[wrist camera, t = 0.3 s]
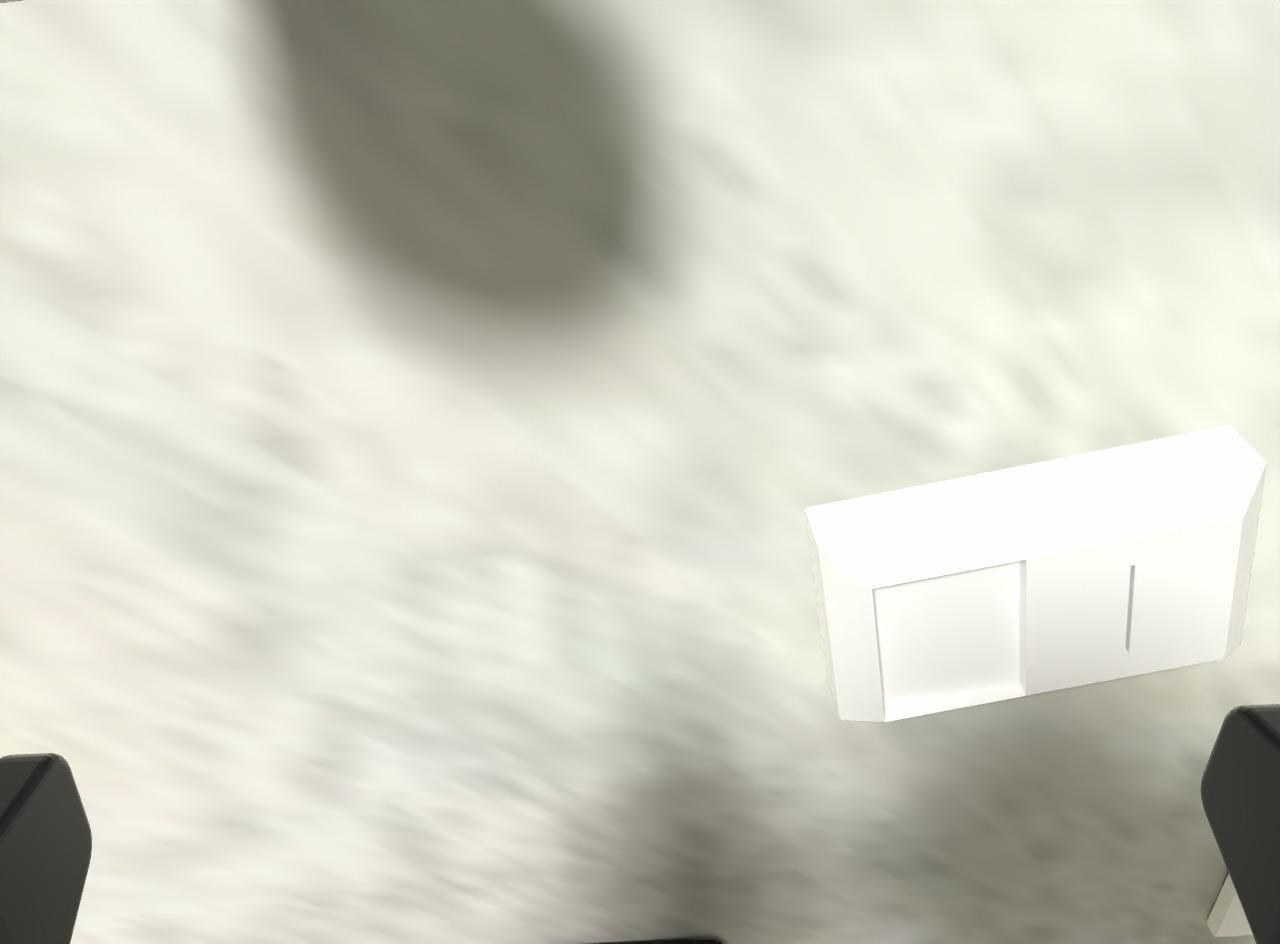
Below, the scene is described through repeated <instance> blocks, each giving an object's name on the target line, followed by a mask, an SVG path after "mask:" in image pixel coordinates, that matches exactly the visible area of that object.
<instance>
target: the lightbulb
mask: <svg viewBox="0 0 1280 944" xmlns="http://www.w3.org/2000/svg"><path fill="white" fill-rule="evenodd" d="M14 1H21V0H0V3H6V2H14Z"/></svg>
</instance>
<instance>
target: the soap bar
mask: <svg viewBox="0 0 1280 944" xmlns="http://www.w3.org/2000/svg"><path fill="white" fill-rule="evenodd" d="M1266 464H1267V461H1266V460H1265V459H1264V458H1263V457H1262V456H1261V455H1260V454H1259V453H1258V452H1257V451H1256V450H1255V449H1254V448H1253V447H1251V446H1250V445H1249V444H1248V443H1247V442H1246V441H1245V440H1244V439H1243V438H1242V437H1241V436H1240V435H1239V434H1238V433H1237V432H1236V431H1235V430H1234V429H1233V428H1232V427H1231V426H1230V425H1228V426H1223V427H1218V428H1213V429H1208V430H1203V431H1198V432H1192V433H1187V434H1182V435H1177V436H1172V437H1167V438H1162V439H1157V440H1152V441H1146V442H1141V443H1136V444H1131V445H1126V446H1121V447H1116V448H1111V449H1105V450H1100V451H1095V452H1090V453H1085V454H1080V455H1075V456H1070V457H1065V458H1059V459H1054V460H1049V461H1044V462H1039V463H1034V464H1029V465H1024V466H1019V467H1013V468H1008V469H1003V470H998V471H993V472H988V473H983V474H978V475H972V476H967V477H962V478H957V479H952V480H947V481H942V482H937V483H932V484H926V485H921V486H916V487H911V488H906V489H901V490H896V491H891V492H886V493H880V494H875V495H870V496H865V497H860V498H855V499H850V500H845V501H839V502H834V503H829V504H824V505H819V506H814V507H809V508H805V514H806V522H807V530H808V537H809V545H810V553H811V560H812V568H813V576H814V584H815V591H816V599H817V607H818V614H819V622H820V630H821V637H822V645H823V653H824V660H825V668H826V676H827V679H828V683H829V686H830V689H831V693H832V696H833V699H834V702H835V706H836V709H837V712H838V715H839V719H840V720H851V721H871V722H889V721H894V720H899V719H905V718H910V717H915V716H921V715H926V714H932V713H937V712H942V711H948V710H953V709H958V708H964V707H969V706H974V705H980V704H985V703H991V702H996V701H1001V700H1007V699H1012V698H1017V697H1023V696H1028V695H1033V694H1039V693H1044V692H1049V691H1055V690H1060V689H1066V688H1071V687H1076V686H1082V685H1087V684H1092V683H1098V682H1103V681H1108V680H1114V679H1119V678H1125V677H1130V676H1135V675H1141V674H1146V673H1151V672H1157V671H1162V670H1167V669H1173V668H1178V667H1184V666H1189V665H1194V664H1200V663H1205V662H1210V661H1216V660H1221V659H1225V658H1226V657H1227V656H1228V655H1230V654H1231V653H1232V652H1233V651H1234V650H1235V649H1236V648H1238V647H1239V646H1240V645H1241V638H1242V631H1243V624H1244V617H1245V610H1246V603H1247V596H1248V590H1249V583H1250V576H1251V569H1252V562H1253V555H1254V548H1255V541H1256V534H1257V527H1258V520H1259V513H1260V506H1261V499H1262V492H1263V485H1264V478H1265V471H1266Z"/></svg>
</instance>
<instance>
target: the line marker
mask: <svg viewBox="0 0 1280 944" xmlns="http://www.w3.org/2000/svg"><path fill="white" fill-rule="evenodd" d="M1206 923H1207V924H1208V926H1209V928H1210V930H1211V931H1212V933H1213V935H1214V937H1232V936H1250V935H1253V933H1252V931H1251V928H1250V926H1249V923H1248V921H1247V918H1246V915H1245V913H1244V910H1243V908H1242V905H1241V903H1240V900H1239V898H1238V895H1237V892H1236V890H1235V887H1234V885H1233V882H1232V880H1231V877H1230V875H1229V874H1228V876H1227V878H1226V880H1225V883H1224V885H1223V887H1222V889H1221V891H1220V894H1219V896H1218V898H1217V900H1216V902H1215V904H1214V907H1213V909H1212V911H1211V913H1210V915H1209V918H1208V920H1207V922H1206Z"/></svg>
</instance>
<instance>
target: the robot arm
mask: <svg viewBox="0 0 1280 944" xmlns="http://www.w3.org/2000/svg"><path fill="white" fill-rule="evenodd" d="M1201 797H1202V802H1203V807H1204V810H1205V813H1206V816H1207V818H1208V821H1209V823H1210V826H1211V828H1212V831H1213V834H1214V836H1215V839H1216V841H1217V844H1218V846H1219V849H1220V852H1221V854H1222V857H1223V859H1224V862H1225V864H1226V867H1227V869H1228V872H1229V875H1230V877H1231V880H1232V882H1233V885H1234V887H1235V890H1236V892H1237V895H1238V898H1239V900H1240V903H1241V905H1242V908H1243V910H1244V913H1245V915H1246V918H1247V921H1248V923H1249V926H1250V928H1251V931H1252V933H1253V936H1254V938H1255V941H1256V944H1280V705H1279V704H1272V705H1246V706H1239V707H1235V708H1234V709H1232V710H1231V711H1230V712H1229V713H1228V714H1227V715H1226V717H1225V719H1224V721H1223V724H1222V727H1221V729H1220V732H1219V734H1218V737H1217V740H1216V742H1215V745H1214V747H1213V750H1212V753H1211V755H1210V758H1209V761H1208V763H1207V766H1206V768H1205V771H1204V774H1203V777H1202V783H1201ZM91 851H92V836H91V829H90V825H89V822H88V819H87V816H86V813H85V810H84V807H83V804H82V801H81V799H80V796H79V793H78V790H77V787H76V784H75V781H74V778H73V775H72V772H71V769H70V767H69V765H68V763H67V761H66V760H65V759H64V758H63V757H62V756H60V755H57V754H53V753H45V754H21V755H9V756H4V757H2V758H0V944H70V942H71V938H72V933H73V929H74V925H75V921H76V917H77V913H78V909H79V905H80V901H81V897H82V893H83V889H84V884H85V880H86V876H87V872H88V868H89V864H90V859H91ZM641 944H723V943H722V942H719V941H717V940H696V941H678V942H660V943H641Z"/></svg>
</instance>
